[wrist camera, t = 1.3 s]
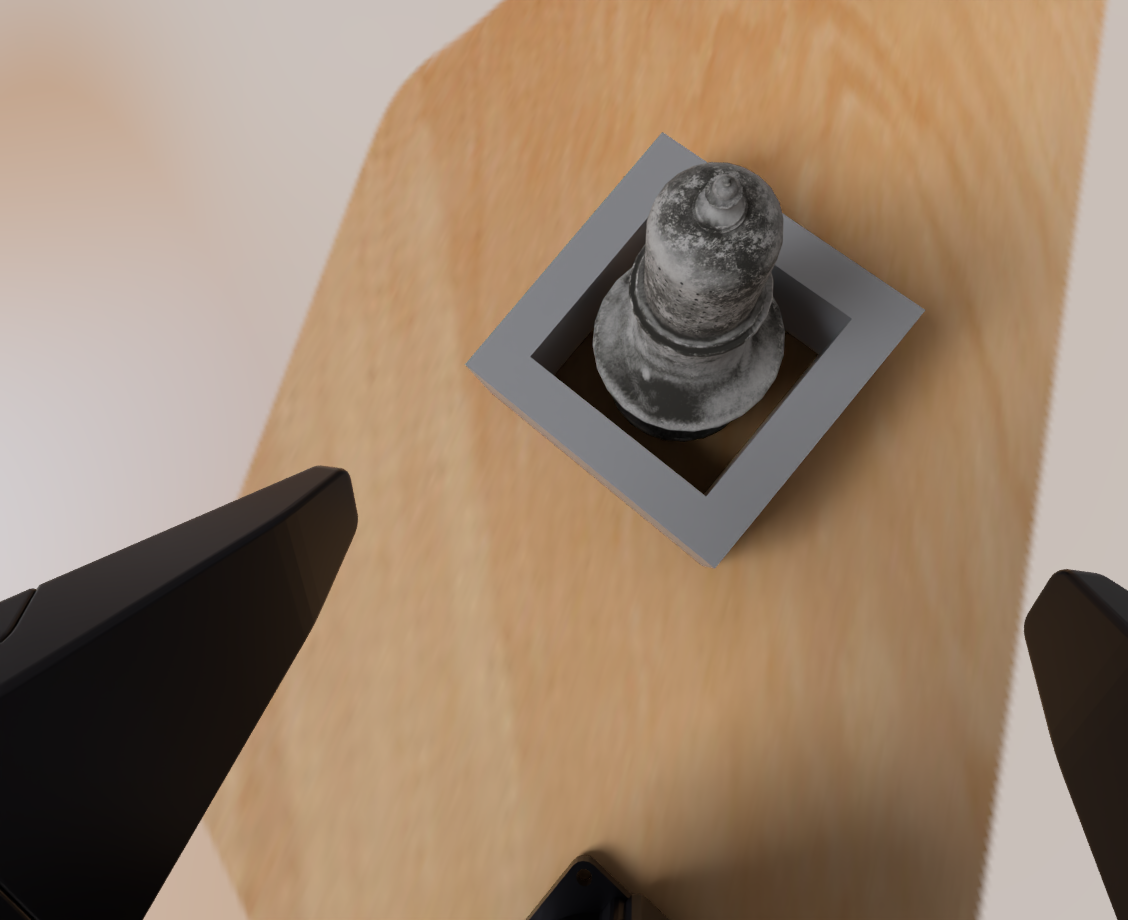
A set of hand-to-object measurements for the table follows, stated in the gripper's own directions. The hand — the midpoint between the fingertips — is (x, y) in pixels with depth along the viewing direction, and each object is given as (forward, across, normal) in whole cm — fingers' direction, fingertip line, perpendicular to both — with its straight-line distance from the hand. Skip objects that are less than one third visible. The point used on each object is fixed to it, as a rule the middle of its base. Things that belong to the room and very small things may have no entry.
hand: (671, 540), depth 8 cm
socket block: (+15, 0, +4) cm, 16 cm away
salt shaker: (+15, 0, +5) cm, 16 cm away
